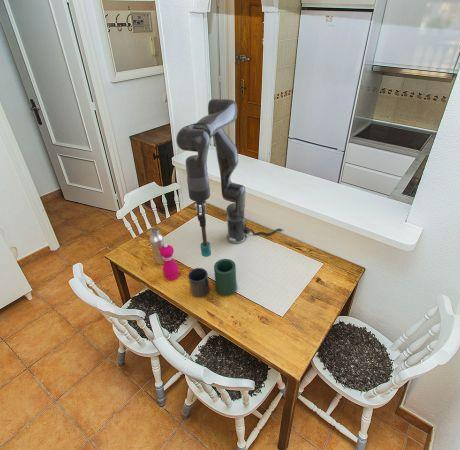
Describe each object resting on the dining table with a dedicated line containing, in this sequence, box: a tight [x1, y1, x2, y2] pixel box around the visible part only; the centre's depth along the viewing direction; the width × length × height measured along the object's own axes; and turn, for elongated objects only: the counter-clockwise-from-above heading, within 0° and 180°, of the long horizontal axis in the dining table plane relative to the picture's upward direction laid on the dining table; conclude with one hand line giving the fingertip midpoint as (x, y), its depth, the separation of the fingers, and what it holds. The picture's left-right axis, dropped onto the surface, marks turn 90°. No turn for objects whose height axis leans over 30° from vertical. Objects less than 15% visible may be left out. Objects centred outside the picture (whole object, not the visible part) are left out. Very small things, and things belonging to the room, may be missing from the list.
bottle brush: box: [199, 226, 212, 258], centre depth 124 cm, size 4×4×22 cm
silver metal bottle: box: [148, 227, 165, 265], centre depth 153 cm, size 6×7×20 cm
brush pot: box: [187, 267, 210, 298], centre depth 141 cm, size 8×8×10 cm
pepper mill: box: [160, 243, 180, 282], centre depth 145 cm, size 7×7×20 cm
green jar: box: [213, 258, 237, 297], centre depth 140 cm, size 9×9×14 cm
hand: (203, 224), depth 122 cm, fingers closed on bottle brush, 1 cm apart
